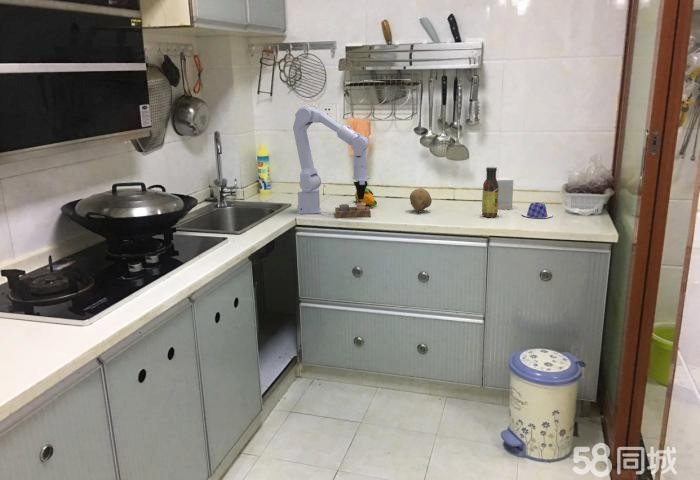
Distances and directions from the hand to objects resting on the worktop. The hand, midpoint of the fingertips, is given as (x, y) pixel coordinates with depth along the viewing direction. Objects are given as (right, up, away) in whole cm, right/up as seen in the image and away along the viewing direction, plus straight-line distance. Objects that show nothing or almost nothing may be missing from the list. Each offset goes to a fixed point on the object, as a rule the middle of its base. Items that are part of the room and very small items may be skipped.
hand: (360, 199), depth 244 cm
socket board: (-3, -7, +1) cm, 8 cm away
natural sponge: (+25, -5, +6) cm, 27 cm away
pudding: (+71, -8, -5) cm, 72 cm away
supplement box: (+61, -3, +11) cm, 62 cm away
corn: (+3, -1, +21) cm, 22 cm away
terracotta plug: (0, -6, +1) cm, 6 cm away
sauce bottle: (+52, -7, -4) cm, 53 cm away
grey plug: (-7, -6, +1) cm, 9 cm away
